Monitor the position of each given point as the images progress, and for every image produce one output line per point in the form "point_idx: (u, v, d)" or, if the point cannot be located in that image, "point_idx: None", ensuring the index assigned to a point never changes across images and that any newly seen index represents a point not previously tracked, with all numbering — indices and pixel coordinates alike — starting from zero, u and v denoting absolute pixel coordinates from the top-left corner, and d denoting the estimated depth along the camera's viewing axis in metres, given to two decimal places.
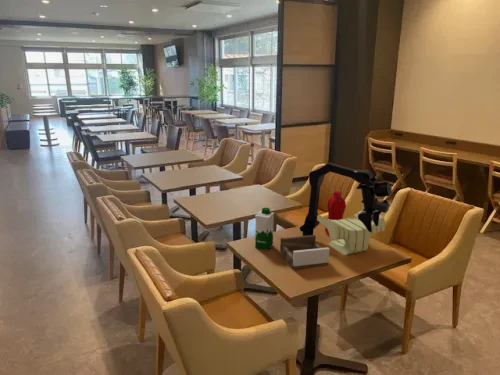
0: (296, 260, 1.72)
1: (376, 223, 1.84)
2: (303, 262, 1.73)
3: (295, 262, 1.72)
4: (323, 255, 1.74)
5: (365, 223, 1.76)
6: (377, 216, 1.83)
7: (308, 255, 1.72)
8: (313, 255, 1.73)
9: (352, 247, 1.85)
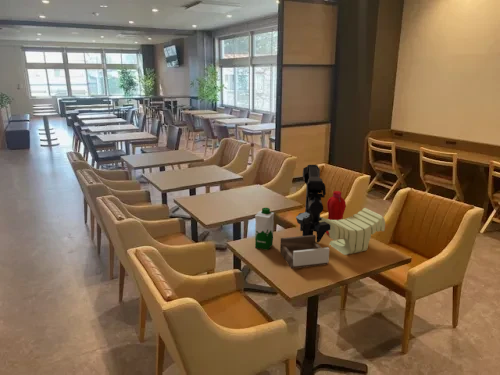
0: (296, 260, 1.72)
1: None
2: (303, 262, 1.73)
3: (295, 262, 1.72)
4: (323, 255, 1.74)
5: None
6: None
7: (308, 255, 1.72)
8: (313, 255, 1.73)
9: (352, 247, 1.85)
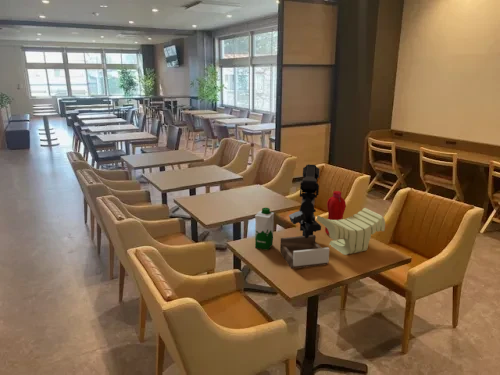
0: (296, 260, 1.72)
1: None
2: (303, 262, 1.73)
3: (295, 262, 1.72)
4: (323, 255, 1.74)
5: None
6: None
7: (308, 255, 1.72)
8: (313, 255, 1.73)
9: (352, 247, 1.85)
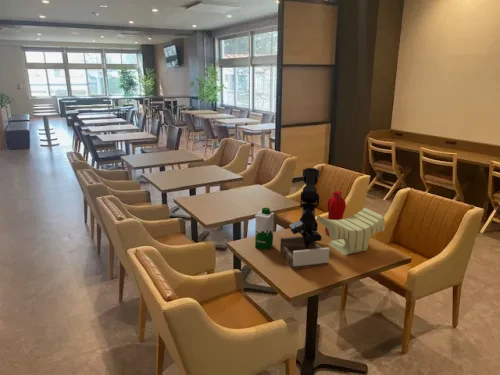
0: (296, 260, 1.72)
1: None
2: (303, 262, 1.73)
3: (295, 262, 1.72)
4: (323, 255, 1.74)
5: None
6: None
7: (308, 255, 1.72)
8: (313, 255, 1.73)
9: (352, 247, 1.85)
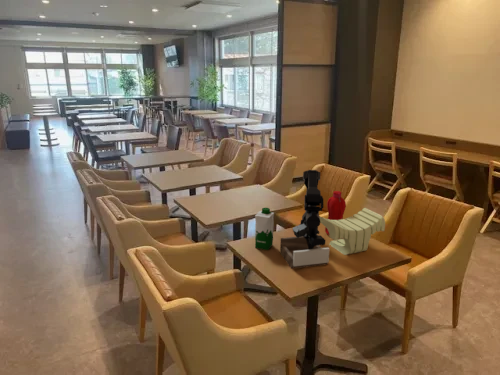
0: (296, 261, 1.72)
1: None
2: (303, 262, 1.73)
3: (295, 262, 1.72)
4: (323, 255, 1.74)
5: None
6: None
7: (308, 255, 1.72)
8: (313, 255, 1.73)
9: (352, 247, 1.85)
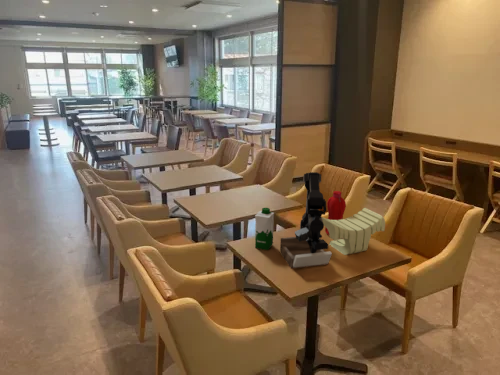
0: (297, 263, 1.71)
1: None
2: (303, 264, 1.73)
3: (295, 264, 1.71)
4: (324, 258, 1.73)
5: None
6: None
7: (309, 259, 1.71)
8: (314, 259, 1.72)
9: (352, 247, 1.85)
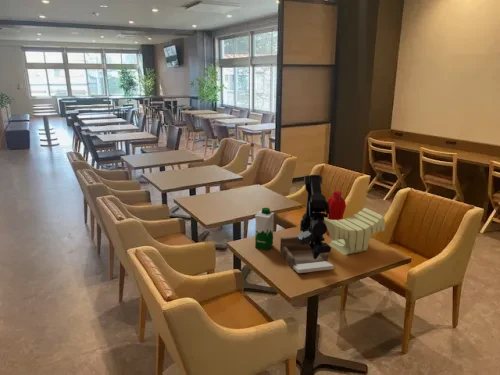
0: None
1: None
2: None
3: None
4: None
5: None
6: None
7: None
8: None
9: (352, 247, 1.85)
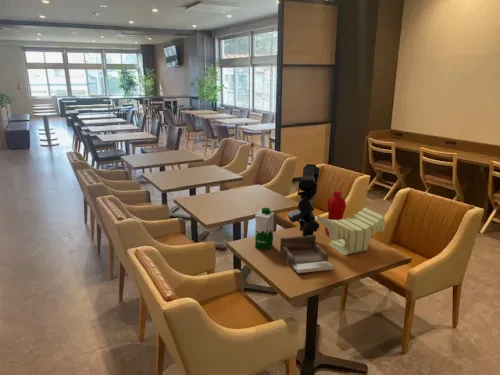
0: None
1: None
2: None
3: None
4: None
5: None
6: None
7: None
8: None
9: (352, 247, 1.85)
